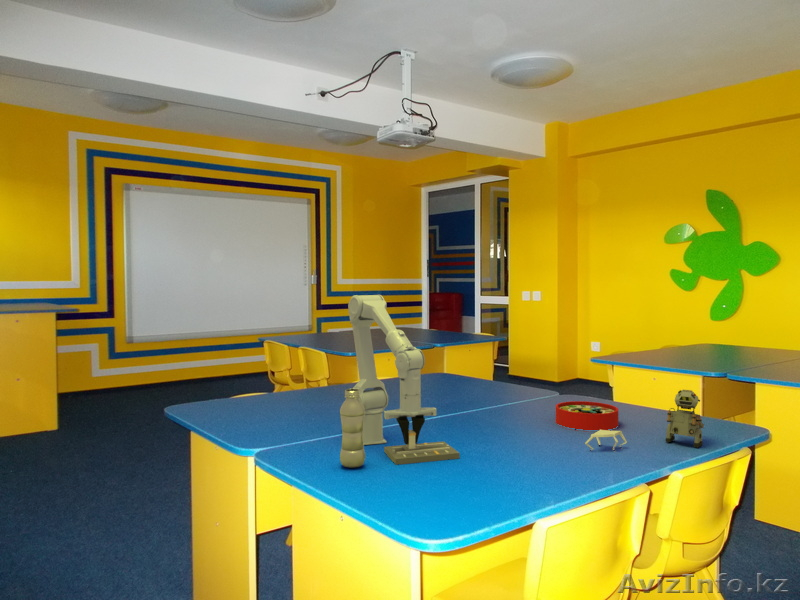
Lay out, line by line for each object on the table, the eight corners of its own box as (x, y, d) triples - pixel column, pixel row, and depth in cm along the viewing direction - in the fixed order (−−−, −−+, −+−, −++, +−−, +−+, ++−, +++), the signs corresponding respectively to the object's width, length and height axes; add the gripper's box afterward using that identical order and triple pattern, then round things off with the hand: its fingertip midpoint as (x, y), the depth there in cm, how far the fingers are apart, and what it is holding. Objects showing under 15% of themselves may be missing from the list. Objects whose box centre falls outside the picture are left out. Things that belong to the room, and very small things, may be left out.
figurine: (708, 441, 170) (709, 391, 169) (696, 450, 161) (696, 397, 161) (676, 436, 176) (676, 387, 176) (662, 443, 168) (663, 392, 167)
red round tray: (543, 404, 198) (590, 399, 205) (543, 421, 198) (590, 415, 205) (582, 416, 179) (632, 410, 186) (582, 435, 179) (632, 428, 187)
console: (395, 464, 150) (395, 456, 150) (384, 452, 162) (383, 444, 162) (459, 458, 155) (459, 450, 155) (444, 446, 167) (443, 439, 167)
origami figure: (603, 442, 170) (603, 426, 170) (628, 449, 163) (628, 432, 163) (577, 449, 163) (577, 432, 163) (602, 456, 156) (602, 438, 156)
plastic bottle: (352, 461, 154) (351, 386, 153) (370, 466, 149) (370, 389, 149) (334, 467, 149) (333, 390, 148) (353, 472, 144) (352, 393, 144)
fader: (405, 453, 155) (405, 433, 155) (402, 449, 159) (401, 430, 158) (419, 451, 156) (419, 432, 156) (415, 448, 160) (415, 429, 160)
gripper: (388, 398, 151) (388, 449, 152) (440, 394, 155) (440, 444, 156) (381, 393, 158) (382, 442, 159) (431, 390, 162) (431, 438, 163)
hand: (410, 443), depth 158 cm, fingers closed on fader, 2 cm apart
